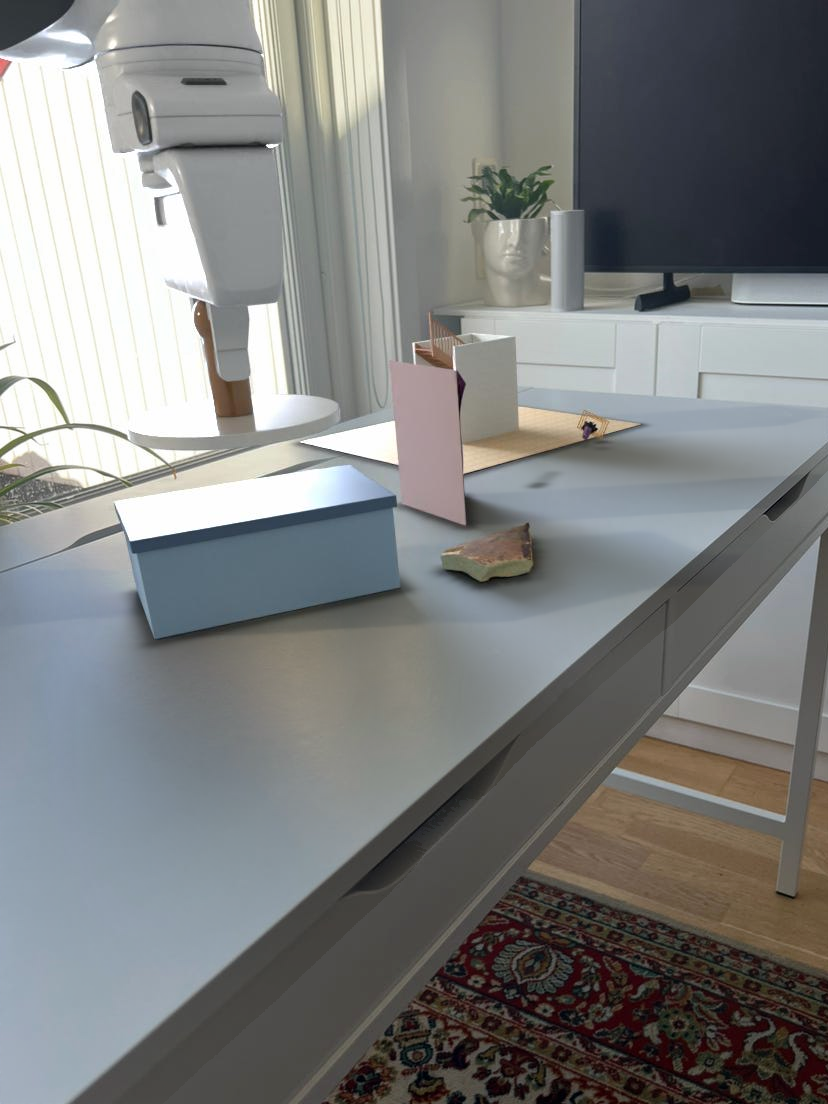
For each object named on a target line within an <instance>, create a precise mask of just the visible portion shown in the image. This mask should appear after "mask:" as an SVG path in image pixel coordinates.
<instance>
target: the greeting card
mask: <svg viewBox="0 0 828 1104" xmlns="http://www.w3.org/2000/svg"><path fill="white" fill-rule="evenodd" d="M388 363H389V364H388V365H389V376H390V386H391V397H392V398H391V399H392V407H393V418H394V420H393V421H395V432H396V443H397V454H398V465H397V466H398V475H399V476H398V477H399V486H400V496H401V504H402V505H404V506H408V507H410V508H413V509H417V510H419V511H422V512H425V513H428V514H431V515H434V516H437V517H440V518H442V519H446V520H449V521H450V522H454V523H457V524H460V525H463V526H467V516H466V492H465V477H464V475H465V474H463V446H462V438H461V427H460V410H461V402H462V397H463V393H464V389H465V386H466V383H465V381H464V380H463V378H462V377H461V375H460V373H459V372H458V370H457V371H456V366H455V361H454V356H453V367H454V370H451V369H444V368H437V367H430V366H423V365H417V364H414V363H409V362H402V361H397V360H388Z"/></svg>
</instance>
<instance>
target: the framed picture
mask: <svg viewBox="0 0 828 1104" xmlns="http://www.w3.org/2000/svg"><path fill="white" fill-rule="evenodd" d="M581 415H582V416H584V417H585V416H586V418H587V416H589V417H591V418H593V417H594V418H593V419H595V418H597V419H599V418H600V419H599V420H598V421H600V420H601V419H602V420H601V421H600V422H602V421H603V420H605V419H606V418H603V417H601V416H600V415H599V416H598V415H597V414H595V413H592V412H590V411H588V410H587V409H583V411H582V414H581ZM582 416H581V418H580V421H581V419H582ZM597 419H595V420H597ZM583 420H584V418H583ZM583 420H582V422H583ZM585 420H586V419H585ZM580 421H579V424H580ZM605 421H607V420H605ZM605 421H603V422H602V423H604V422H605ZM586 422H587V421H584V423H583V426H582V427H581V425H582V423H581V425H580V427H581V428H579V427H578V426H579V424H578V426H577V428H579V429H581V430H583V436H582V438H583V439H585V440H584V441H586V440H589V439H588V438H589V435H590V434H592V433H593V434H592V435H594V434H596V433H597V432H596V431H597V430H598V428H596V427H595V426H596V424H594V425H593V423H594V422H593V423H592V422H591V421H590V422H589V423H588V422H587V423H586ZM607 422H608V423H609V421H607ZM608 423H607V425H606V428H607V426H608ZM605 424H606V422H605ZM605 424H604V427H605ZM602 426H603V424H602ZM602 426H601V428H602ZM604 427H603V429H604ZM606 428H605V430H604V433H605V431H606ZM603 429H602V431H603ZM600 430H601V429H600ZM594 432H595V433H594ZM599 433H600V431H599ZM599 433H597V434H596V435H594V436H596V437H595V438H598V439H599V440H602V439H603V438H604V435H605V434H604V433H603V435H601V434H602V432H601V434H600V435H598V434H599ZM597 435H598V436H597Z"/></svg>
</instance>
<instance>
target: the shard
mask: <svg viewBox="0 0 828 1104" xmlns="http://www.w3.org/2000/svg"><path fill="white" fill-rule="evenodd" d="M530 528H531V525H530V522H526V523H525V524H523V525H518V526H515V527H512V528H510V529H507V530H503V531H500V532H499V531H498V532H496V533H495V532H494V533H491V534H488V535H485V536H483V537H478V538H475V539H472V540H469V541H467V542H464V543H460V544H458V545H456V546H452V547H450V548H448V549H444V551H443V552H442V553H441V555H440V561H441V566H442V569H443V570H450V571H458V572H463V573H465V574H468V576H470V577H471V578H473V579H475V580H476V581H478V582H480V583H482V582H486V581H489V580H490V578H494V577H500V578H504V577H506V578H509V577H518V576H520V575H524V574H528V573H530V572H531V571H532V567H533V566H534V560H533V551H532V543H533V542H532V535H531V533H530Z"/></svg>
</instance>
